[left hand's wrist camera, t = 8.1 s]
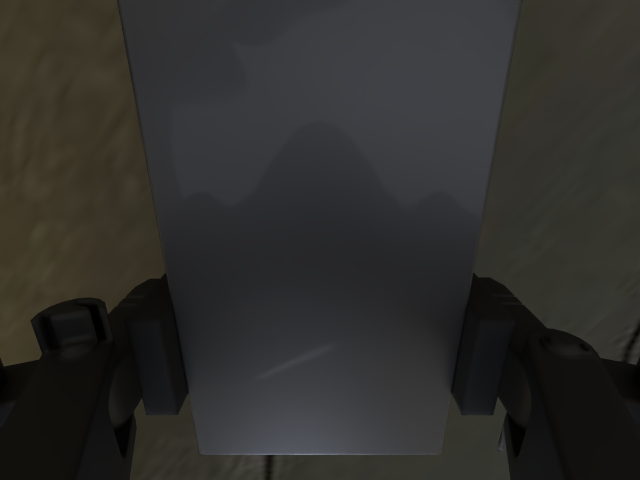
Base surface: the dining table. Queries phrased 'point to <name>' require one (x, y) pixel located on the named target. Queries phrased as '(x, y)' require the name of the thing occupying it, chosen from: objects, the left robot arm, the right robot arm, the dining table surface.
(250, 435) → the cabinet
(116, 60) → the dining table surface
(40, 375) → the left robot arm
